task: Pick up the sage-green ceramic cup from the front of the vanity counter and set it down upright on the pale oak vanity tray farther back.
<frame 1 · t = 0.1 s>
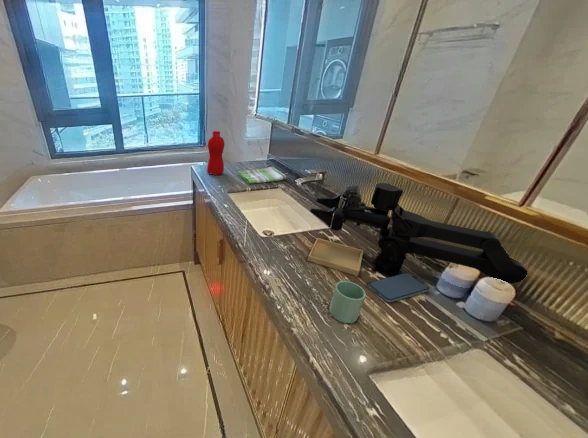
hand: (313, 204, 94), 17 cm above the worktop, tool horizontal, fingers open, 9 cm apart
tray: (335, 257, 96), on the worktop
dish towel: (261, 177, 165), on the worktop
water bottle: (215, 172, 173), on the worktop
smartphone: (397, 289, 82), on the worktop
cup: (342, 312, 75), on the worktop
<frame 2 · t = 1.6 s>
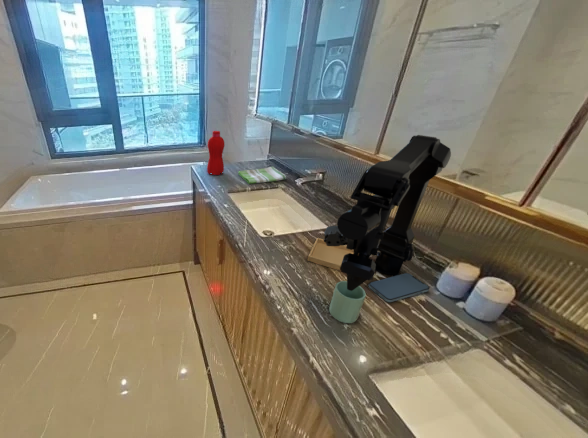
hand: (352, 279, 70), 11 cm above the worktop, tool pointing down, fingers open, 9 cm apart
nothing on the worktop moved.
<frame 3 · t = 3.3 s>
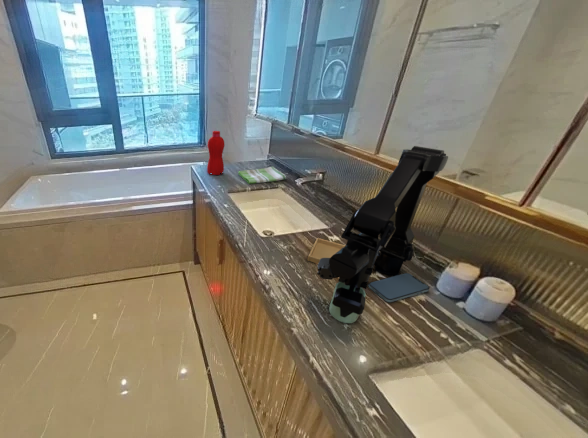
hand: (344, 307, 74), 2 cm above the worktop, tool pointing down, fingers closed on cup, 7 cm apart
cup: (342, 312, 75), on the worktop, touching gripper
everything else where it was.
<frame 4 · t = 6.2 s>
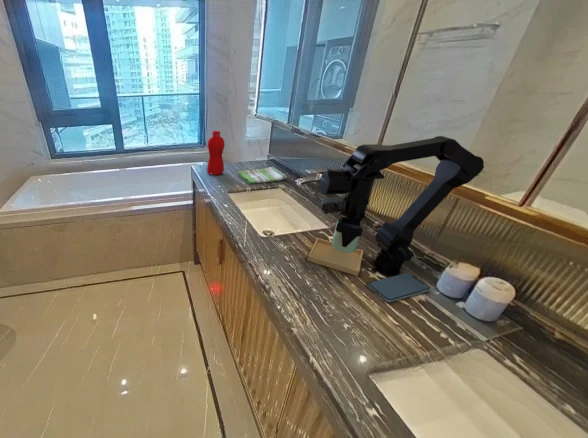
hand: (345, 240, 85), 11 cm above the worktop, tool pointing down, fingers closed on cup, 7 cm apart
cup: (343, 246, 86), point 9 cm above the worktop, touching gripper
everything else where it was.
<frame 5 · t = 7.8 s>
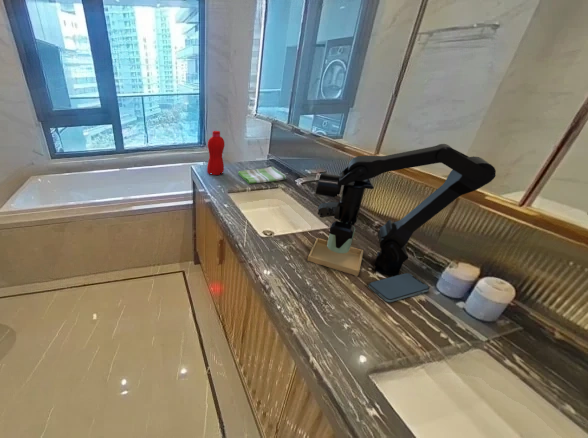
hand: (339, 242, 93), 6 cm above the worktop, tool pointing down, fingers closed on cup, 7 cm apart
cup: (337, 247, 94), point 4 cm above the worktop, touching gripper
everything else where it was.
when the fingers open (2 cm above the worktop, at t = 9.3 s): cup stays where it is, resting on tray.
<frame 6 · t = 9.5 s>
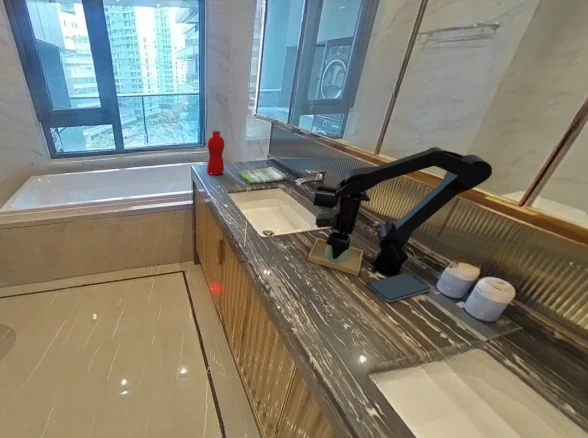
hand: (336, 252, 95), 2 cm above the worktop, tool pointing down, fingers open, 8 cm apart
cup: (335, 256, 96), resting on tray
everything else where it was.
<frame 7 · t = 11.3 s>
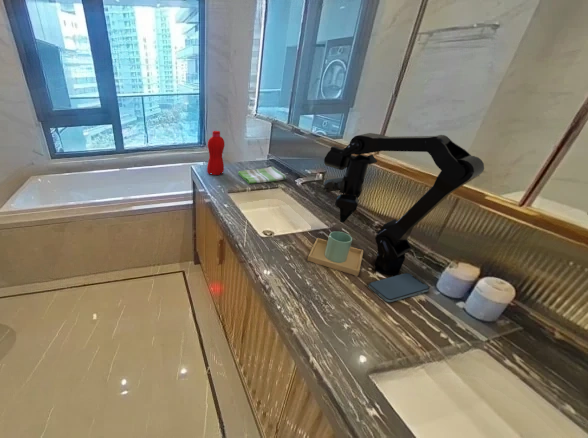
hand: (343, 216, 99), 11 cm above the worktop, tool pointing down, fingers open, 9 cm apart
nothing on the worktop moved.
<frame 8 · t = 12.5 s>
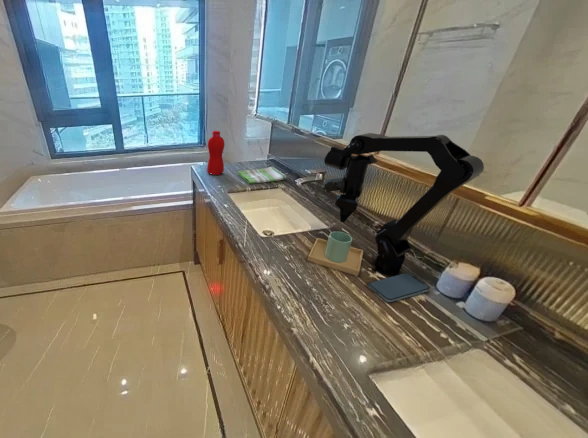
hand: (344, 216, 99), 11 cm above the worktop, tool pointing down, fingers open, 9 cm apart
nothing on the worktop moved.
at the end: cup inside the target area in the tray (0.0 cm from its centre), point 0.4 cm above the tray's base; cup tilted 0°; the gripper is holding nothing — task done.
